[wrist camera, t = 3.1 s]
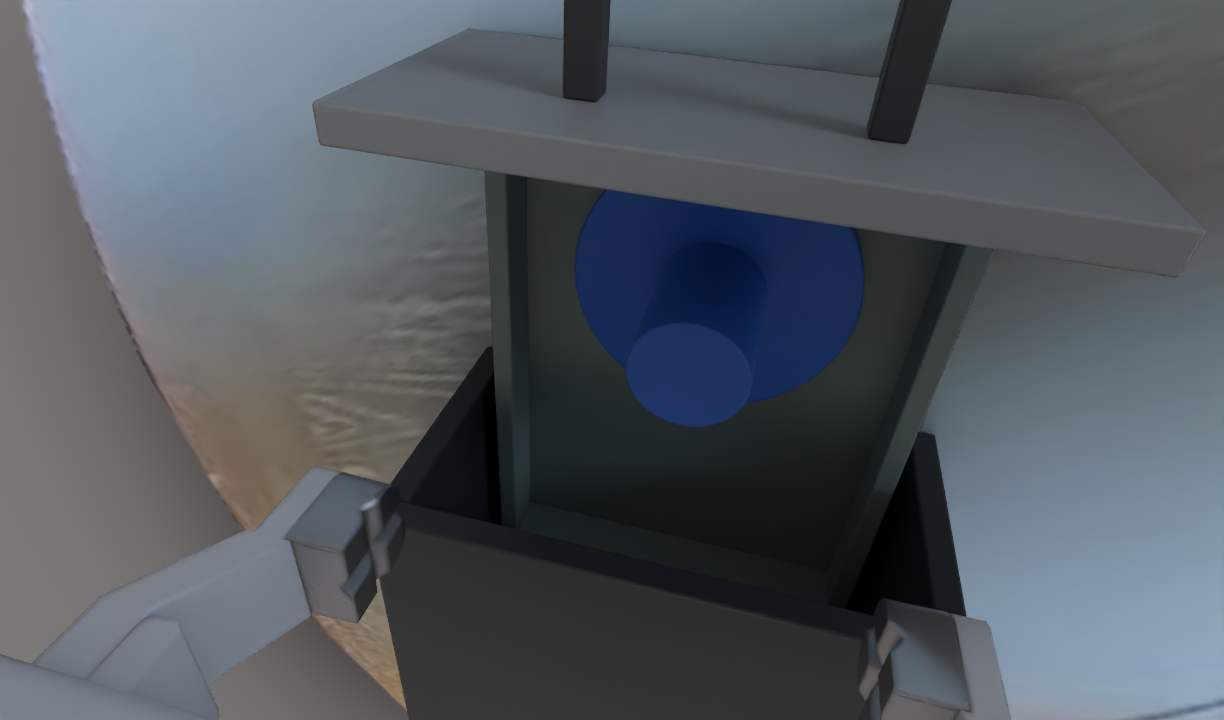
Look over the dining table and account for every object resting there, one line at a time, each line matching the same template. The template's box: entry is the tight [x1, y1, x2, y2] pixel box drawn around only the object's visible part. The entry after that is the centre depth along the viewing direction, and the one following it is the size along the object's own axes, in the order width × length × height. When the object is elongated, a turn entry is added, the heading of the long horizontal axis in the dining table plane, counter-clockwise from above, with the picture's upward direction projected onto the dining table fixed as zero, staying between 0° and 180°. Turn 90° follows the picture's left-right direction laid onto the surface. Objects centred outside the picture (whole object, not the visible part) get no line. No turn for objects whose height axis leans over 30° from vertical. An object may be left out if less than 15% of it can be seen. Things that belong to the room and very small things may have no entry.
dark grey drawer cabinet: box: [379, 347, 967, 720], centre depth 25 cm, size 17×15×8 cm
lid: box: [575, 189, 865, 427], centre depth 18 cm, size 8×8×5 cm
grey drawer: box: [312, 0, 1205, 609], centre depth 18 cm, size 20×14×7 cm
